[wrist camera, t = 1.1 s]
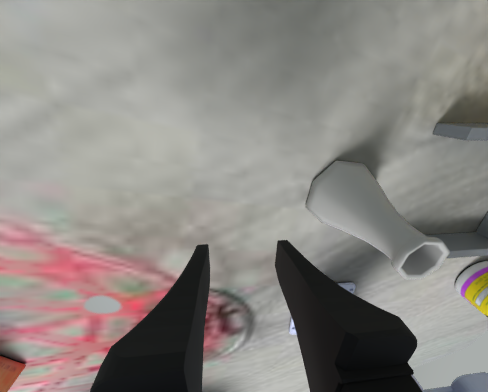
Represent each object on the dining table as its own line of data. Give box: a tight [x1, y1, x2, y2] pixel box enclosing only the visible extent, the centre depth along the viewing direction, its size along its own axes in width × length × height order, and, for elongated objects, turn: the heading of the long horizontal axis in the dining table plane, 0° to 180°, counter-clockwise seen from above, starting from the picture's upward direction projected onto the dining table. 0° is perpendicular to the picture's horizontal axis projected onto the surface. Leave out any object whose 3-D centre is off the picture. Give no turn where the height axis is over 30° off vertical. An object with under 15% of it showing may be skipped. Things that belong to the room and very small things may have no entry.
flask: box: [306, 160, 450, 279], centre depth 17 cm, size 7×7×10 cm
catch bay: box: [425, 123, 488, 258], centre depth 22 cm, size 14×12×3 cm
